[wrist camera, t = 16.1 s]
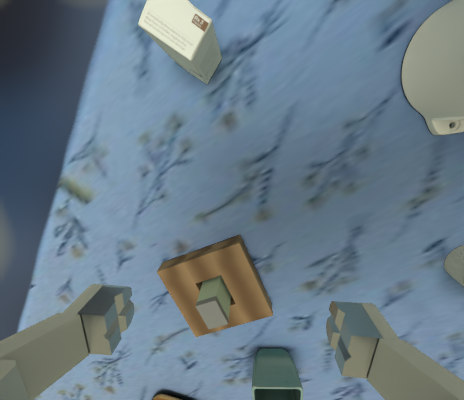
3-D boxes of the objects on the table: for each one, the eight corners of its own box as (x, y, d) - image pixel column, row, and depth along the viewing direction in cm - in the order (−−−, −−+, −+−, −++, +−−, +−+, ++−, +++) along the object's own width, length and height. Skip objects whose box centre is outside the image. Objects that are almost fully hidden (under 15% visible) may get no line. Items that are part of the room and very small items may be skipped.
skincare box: (173, 61, 33) (131, 25, 21) (188, 30, 31) (153, -27, 20) (209, 86, 33) (188, 65, 22) (225, 57, 32) (212, 17, 20)
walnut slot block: (239, 234, 40) (239, 242, 37) (271, 303, 44) (273, 315, 42) (162, 262, 43) (156, 271, 40) (199, 324, 47) (195, 336, 44)
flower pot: (293, 371, 50) (302, 422, 41) (252, 371, 50) (253, 420, 42) (293, 341, 47) (303, 388, 38) (250, 340, 48) (251, 387, 39)
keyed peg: (221, 269, 43) (215, 300, 35) (231, 290, 44) (228, 324, 37) (204, 275, 44) (195, 306, 36) (215, 295, 45) (208, 329, 37)
